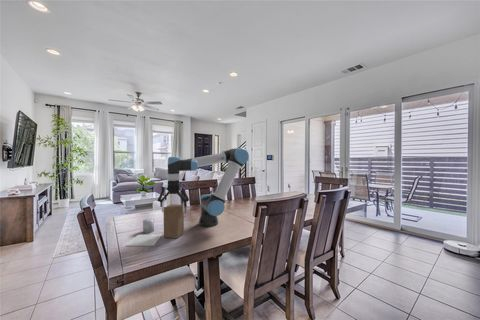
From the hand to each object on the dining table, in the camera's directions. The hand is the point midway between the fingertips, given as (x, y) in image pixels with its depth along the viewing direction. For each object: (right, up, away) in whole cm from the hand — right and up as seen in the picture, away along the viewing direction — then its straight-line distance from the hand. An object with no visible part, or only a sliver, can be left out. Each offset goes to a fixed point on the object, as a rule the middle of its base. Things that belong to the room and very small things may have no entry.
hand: (173, 211), depth 136 cm
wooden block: (0, -16, 0) cm, 16 cm away
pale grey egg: (-20, -16, +8) cm, 27 cm away
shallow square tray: (-15, -16, -8) cm, 23 cm away
